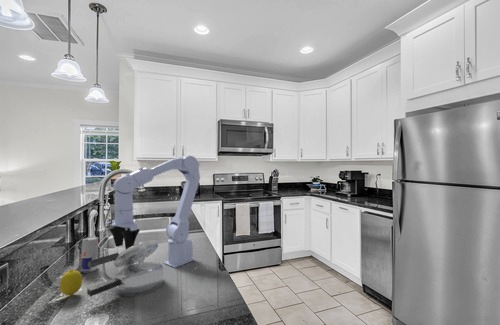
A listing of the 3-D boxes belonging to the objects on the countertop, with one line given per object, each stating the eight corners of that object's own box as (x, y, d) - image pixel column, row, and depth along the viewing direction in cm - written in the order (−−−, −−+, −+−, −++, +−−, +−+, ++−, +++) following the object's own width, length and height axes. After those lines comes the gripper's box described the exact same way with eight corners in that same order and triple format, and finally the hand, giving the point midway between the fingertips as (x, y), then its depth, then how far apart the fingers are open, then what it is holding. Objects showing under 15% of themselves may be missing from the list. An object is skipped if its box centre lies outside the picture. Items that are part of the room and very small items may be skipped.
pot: (148, 272, 89) (148, 258, 89) (171, 282, 81) (171, 268, 81) (79, 298, 72) (79, 281, 72) (99, 315, 63) (99, 296, 63)
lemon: (86, 291, 76) (86, 265, 76) (74, 300, 71) (74, 273, 71) (68, 291, 76) (68, 266, 76) (54, 301, 70) (54, 273, 71)
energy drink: (79, 270, 92) (80, 238, 92) (95, 265, 96) (95, 235, 96) (83, 274, 89) (83, 241, 89) (100, 269, 92) (100, 238, 93)
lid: (148, 258, 89) (146, 253, 90) (164, 238, 83) (162, 233, 84) (83, 280, 73) (81, 273, 74) (98, 257, 67) (95, 250, 67)
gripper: (103, 209, 88) (103, 247, 87) (122, 213, 79) (122, 255, 79) (122, 207, 93) (123, 242, 93) (142, 210, 85) (143, 249, 84)
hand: (124, 247), depth 86 cm, fingers open, 7 cm apart
